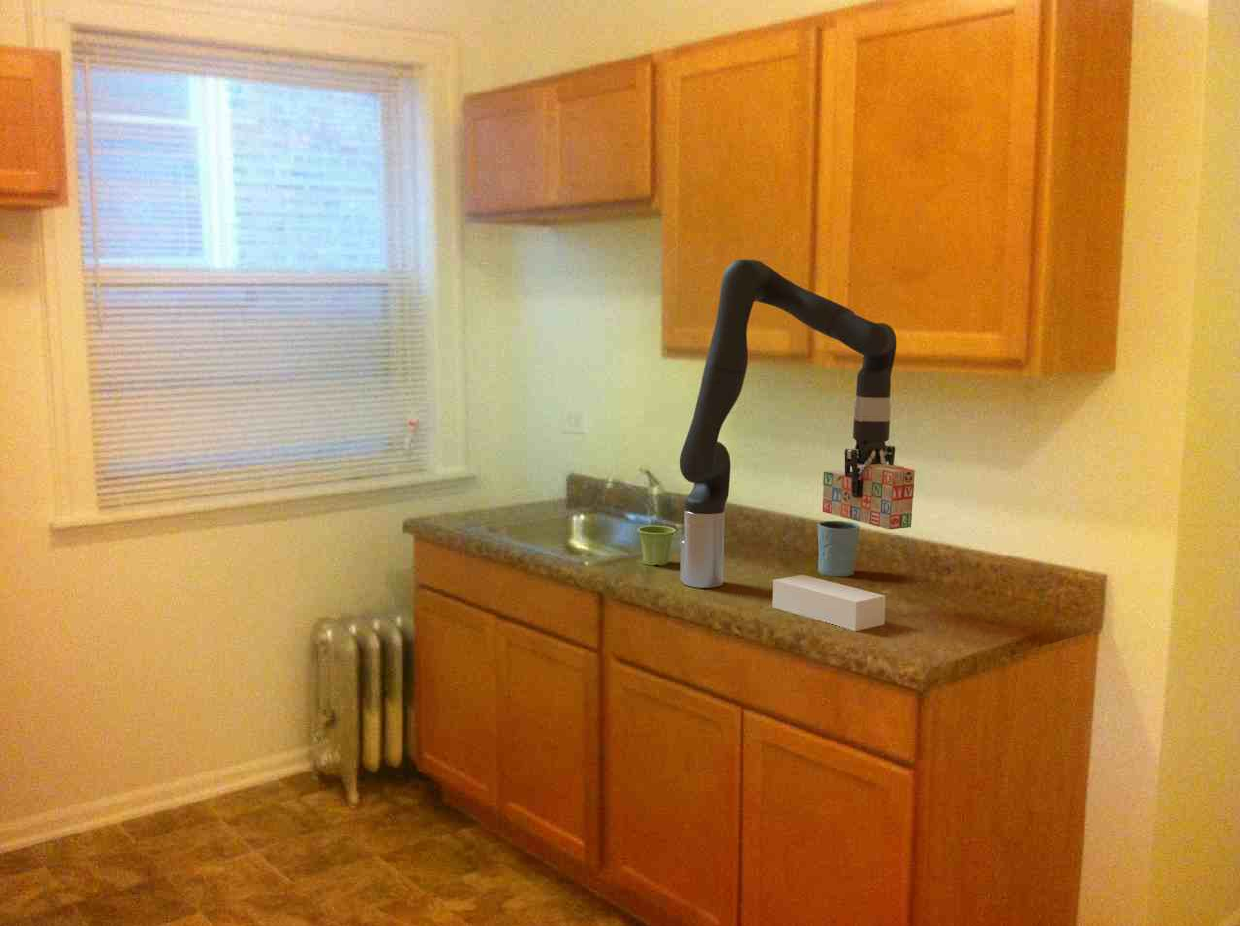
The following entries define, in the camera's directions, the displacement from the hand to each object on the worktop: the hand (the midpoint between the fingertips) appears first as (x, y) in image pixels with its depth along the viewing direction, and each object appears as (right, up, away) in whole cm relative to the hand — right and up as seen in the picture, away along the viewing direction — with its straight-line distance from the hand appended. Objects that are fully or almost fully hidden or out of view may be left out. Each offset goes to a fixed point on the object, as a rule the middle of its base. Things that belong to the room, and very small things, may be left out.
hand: (868, 495), depth 249 cm
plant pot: (-44, -18, +43) cm, 64 cm away
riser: (-9, -25, -4) cm, 27 cm away
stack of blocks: (0, -5, +1) cm, 6 cm away
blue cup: (0, -20, +36) cm, 41 cm away
